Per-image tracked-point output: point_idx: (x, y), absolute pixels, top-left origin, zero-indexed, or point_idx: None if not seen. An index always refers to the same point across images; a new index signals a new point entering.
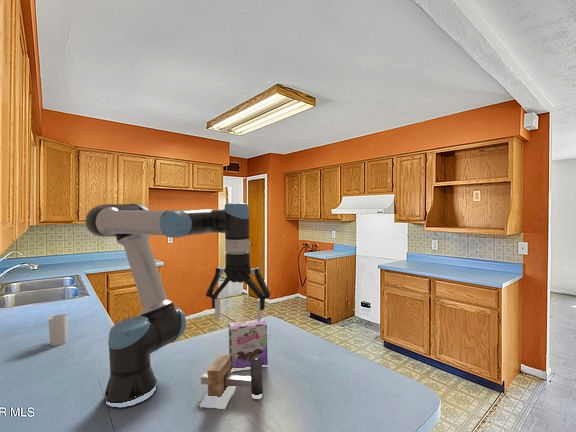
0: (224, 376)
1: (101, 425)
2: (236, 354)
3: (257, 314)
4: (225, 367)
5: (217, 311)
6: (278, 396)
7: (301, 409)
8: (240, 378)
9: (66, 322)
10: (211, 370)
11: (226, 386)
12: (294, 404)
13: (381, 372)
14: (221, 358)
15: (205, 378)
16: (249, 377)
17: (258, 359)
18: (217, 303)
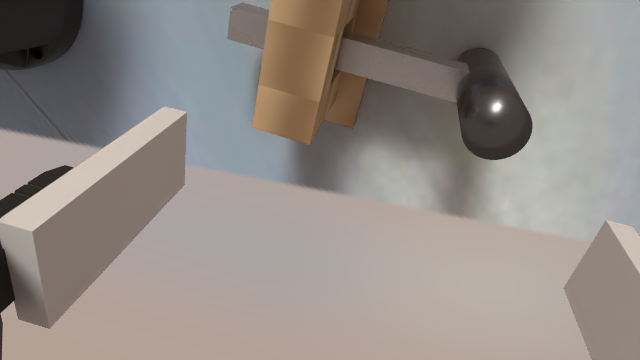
0: None
1: (33, 129)
2: None
3: (585, 340)
4: (329, 71)
5: (143, 222)
6: (568, 78)
7: (634, 168)
8: (407, 79)
9: None
10: (270, 131)
11: None
12: (618, 137)
13: None
14: (296, 16)
15: (249, 43)
16: (450, 76)
17: (508, 140)
18: (88, 277)
